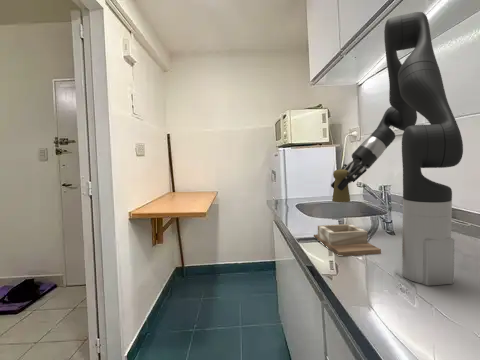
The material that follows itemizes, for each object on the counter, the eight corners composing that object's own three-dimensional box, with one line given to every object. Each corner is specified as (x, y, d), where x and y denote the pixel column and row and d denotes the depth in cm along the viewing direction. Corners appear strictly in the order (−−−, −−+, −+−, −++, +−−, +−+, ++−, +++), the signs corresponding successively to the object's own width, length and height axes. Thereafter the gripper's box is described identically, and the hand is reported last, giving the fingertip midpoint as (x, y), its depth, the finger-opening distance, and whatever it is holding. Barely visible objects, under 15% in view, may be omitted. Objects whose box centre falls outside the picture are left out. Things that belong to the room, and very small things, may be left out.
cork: (352, 202, 112) (352, 169, 111) (334, 202, 112) (334, 170, 112) (347, 199, 118) (347, 168, 117) (330, 200, 118) (330, 169, 118)
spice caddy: (381, 253, 91) (381, 236, 90) (339, 256, 89) (338, 239, 89) (348, 236, 110) (348, 222, 110) (313, 238, 109) (313, 224, 109)
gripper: (352, 145, 122) (320, 179, 121) (371, 143, 108) (336, 182, 107) (365, 159, 123) (334, 193, 122) (387, 159, 109) (352, 197, 108)
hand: (335, 188), depth 115 cm, fingers closed on cork, 4 cm apart
